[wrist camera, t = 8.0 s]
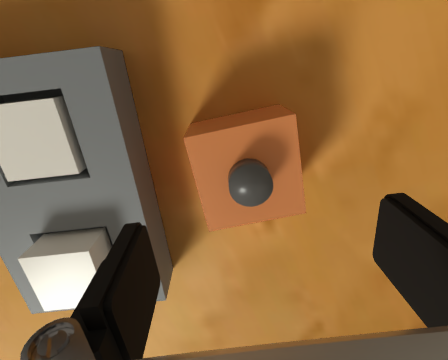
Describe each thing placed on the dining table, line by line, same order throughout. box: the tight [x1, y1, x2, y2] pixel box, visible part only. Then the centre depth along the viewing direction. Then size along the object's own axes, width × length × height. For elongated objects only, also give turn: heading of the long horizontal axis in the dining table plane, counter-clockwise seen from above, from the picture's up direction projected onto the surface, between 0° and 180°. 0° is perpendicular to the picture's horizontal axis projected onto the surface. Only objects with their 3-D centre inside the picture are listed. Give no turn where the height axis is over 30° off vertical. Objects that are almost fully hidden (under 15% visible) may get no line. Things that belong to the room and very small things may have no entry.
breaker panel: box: [0, 46, 173, 314], centre depth 21 cm, size 12×20×4 cm, turn 6°
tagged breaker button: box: [0, 96, 87, 182], centre depth 19 cm, size 5×5×3 cm
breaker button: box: [18, 227, 112, 311], centre depth 21 cm, size 5×5×3 cm
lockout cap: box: [183, 104, 306, 232], centre depth 20 cm, size 7×7×6 cm
